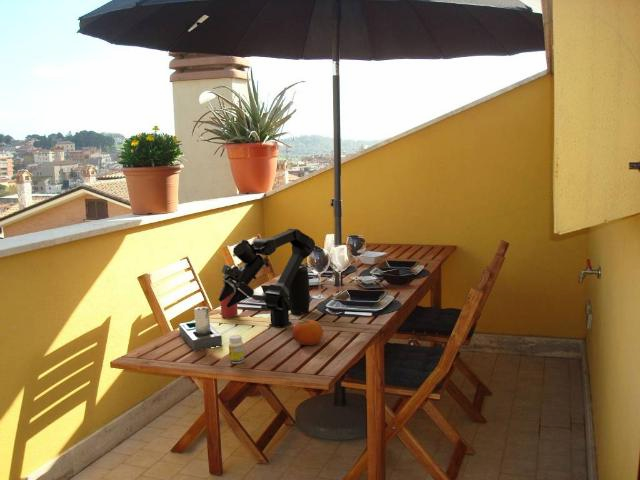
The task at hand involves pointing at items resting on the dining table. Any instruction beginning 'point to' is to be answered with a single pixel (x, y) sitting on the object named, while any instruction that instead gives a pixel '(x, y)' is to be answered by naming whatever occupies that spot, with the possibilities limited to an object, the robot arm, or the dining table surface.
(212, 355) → the dining table surface
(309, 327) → the fruit
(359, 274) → the dining table surface
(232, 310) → the beer can
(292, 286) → the portable speaker
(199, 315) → the steel sleeve
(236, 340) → the supplement bottle
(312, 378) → the dining table surface
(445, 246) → the dining table surface
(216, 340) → the jig plate
